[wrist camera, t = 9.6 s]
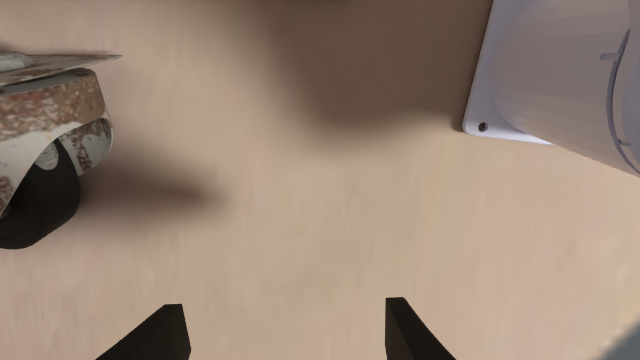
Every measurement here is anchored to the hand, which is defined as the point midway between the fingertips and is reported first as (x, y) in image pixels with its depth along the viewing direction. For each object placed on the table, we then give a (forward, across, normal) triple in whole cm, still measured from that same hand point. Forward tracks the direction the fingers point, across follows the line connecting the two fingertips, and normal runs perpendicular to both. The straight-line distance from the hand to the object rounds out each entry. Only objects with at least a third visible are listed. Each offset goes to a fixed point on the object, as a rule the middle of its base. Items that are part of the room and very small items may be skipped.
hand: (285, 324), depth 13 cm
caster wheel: (+10, +14, -5) cm, 18 cm away
